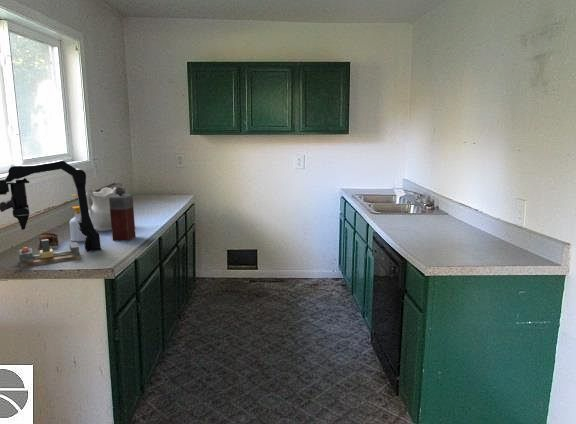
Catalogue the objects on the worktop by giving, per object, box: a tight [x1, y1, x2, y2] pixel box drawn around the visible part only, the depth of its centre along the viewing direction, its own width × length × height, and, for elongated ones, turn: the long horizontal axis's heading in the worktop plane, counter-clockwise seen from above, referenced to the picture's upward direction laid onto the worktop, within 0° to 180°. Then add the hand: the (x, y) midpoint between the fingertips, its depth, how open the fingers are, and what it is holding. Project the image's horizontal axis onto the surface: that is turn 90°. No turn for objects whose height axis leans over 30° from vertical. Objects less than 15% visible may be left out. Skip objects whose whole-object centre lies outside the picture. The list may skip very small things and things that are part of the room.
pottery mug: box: [37, 232, 59, 249], centre depth 226 cm, size 12×9×8 cm
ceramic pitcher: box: [86, 187, 118, 232], centre depth 261 cm, size 22×20×25 cm
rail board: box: [18, 241, 82, 268], centre depth 203 cm, size 24×11×6 cm, turn 121°
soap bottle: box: [68, 193, 87, 243], centre depth 237 cm, size 9×9×25 cm
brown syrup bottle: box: [109, 186, 137, 242], centre depth 239 cm, size 9×11×28 cm
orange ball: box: [21, 246, 29, 252], centre depth 198 cm, size 2×2×2 cm
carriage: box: [39, 239, 54, 258], centre depth 202 cm, size 5×5×8 cm
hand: (23, 227), depth 203 cm, fingers open, 9 cm apart
